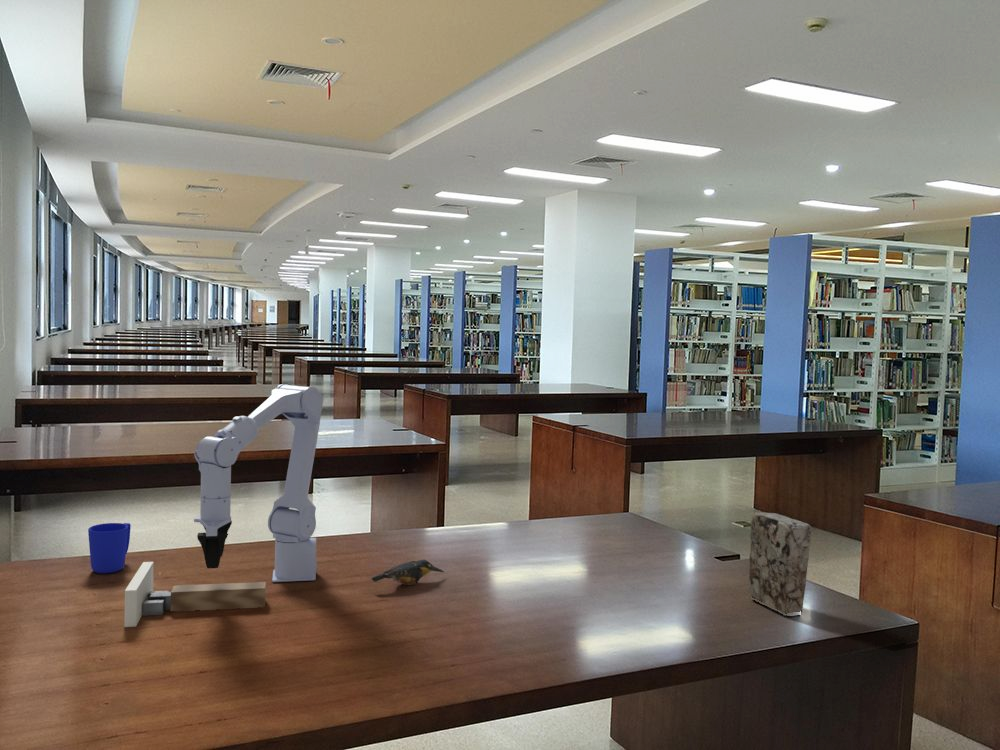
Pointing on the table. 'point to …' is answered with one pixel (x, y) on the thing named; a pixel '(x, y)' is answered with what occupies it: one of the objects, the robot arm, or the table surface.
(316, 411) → the robot arm
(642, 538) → the table surface
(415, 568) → the bird model
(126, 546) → the mug
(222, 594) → the walnut rail
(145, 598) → the post
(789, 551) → the stone block
